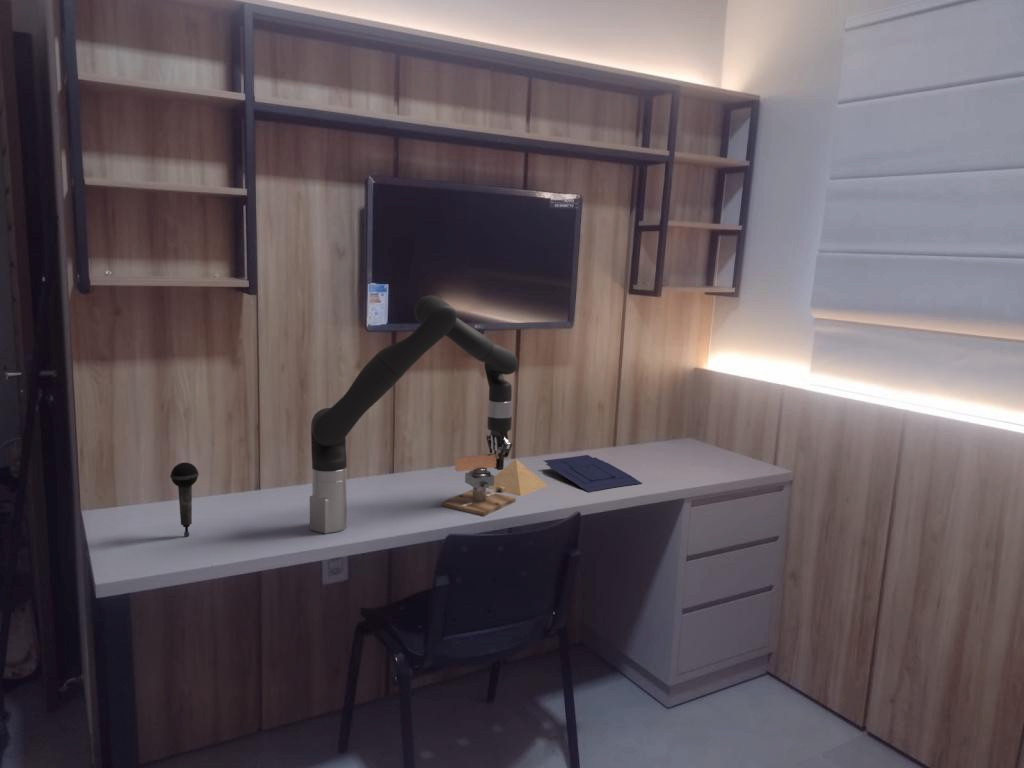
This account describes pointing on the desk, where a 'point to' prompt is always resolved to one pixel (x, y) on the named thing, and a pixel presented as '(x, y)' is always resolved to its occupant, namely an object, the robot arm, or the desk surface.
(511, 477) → the model pyramid
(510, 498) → the post base
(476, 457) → the lever handle
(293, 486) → the desk surface
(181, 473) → the microphone
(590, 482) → the dark blue flat panel
